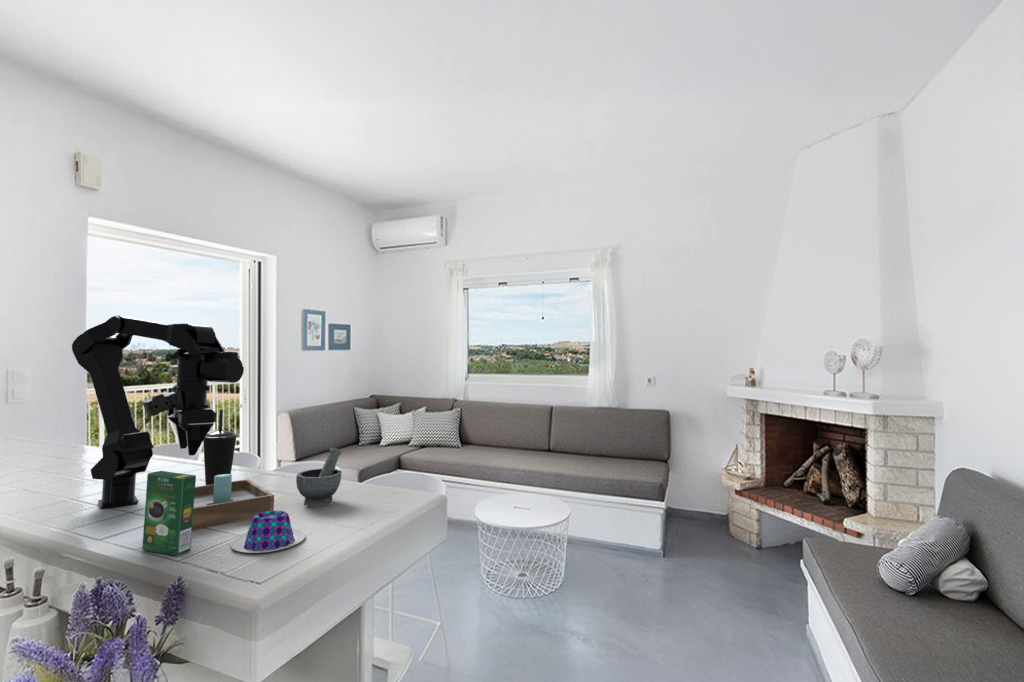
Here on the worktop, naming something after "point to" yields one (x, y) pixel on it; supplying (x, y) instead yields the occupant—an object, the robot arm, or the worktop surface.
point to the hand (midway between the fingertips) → (187, 451)
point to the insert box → (230, 504)
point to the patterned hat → (268, 533)
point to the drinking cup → (218, 452)
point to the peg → (222, 488)
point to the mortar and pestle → (320, 482)
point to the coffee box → (169, 512)
